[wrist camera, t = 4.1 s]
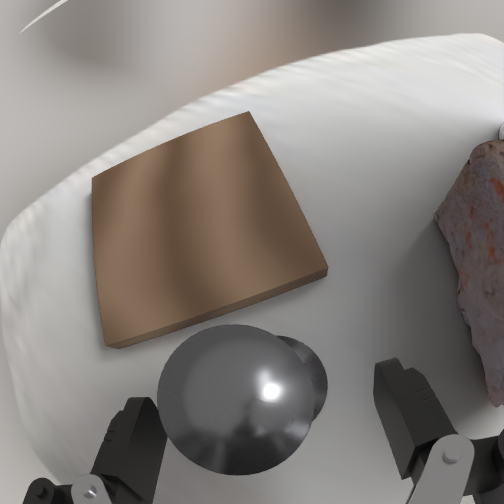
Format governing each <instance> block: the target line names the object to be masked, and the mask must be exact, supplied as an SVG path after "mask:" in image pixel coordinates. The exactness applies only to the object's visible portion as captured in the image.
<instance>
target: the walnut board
mask: <svg viewBox="0 0 504 504" xmlns="http://www.w3.org/2000/svg"><path fill="white" fill-rule="evenodd" d="M92 230H93V248H94V262H95V273H96V283H97V292H98V300H99V308H100V315H101V322H102V328H103V334H104V340H105V345H106V346H109V347H113V348H117V349H119V348H123V347H126V346H129V345H132V344H136V343H139V342H142V341H145V340H149V339H152V338H155V337H158V336H161V335H164V334H167V333H170V332H173V331H176V330H180V329H183V328H186V327H189V326H192V325H194V324H197V323H200V322H203V321H206V320H209V319H212V318H215V317H218V316H221V315H224V314H226V313H229V312H232V311H235V310H238V309H240V308H243V307H246V306H249V305H251V304H254V303H257V302H260V301H262V300H265V299H268V298H270V297H273V296H276V295H279V294H281V293H284V292H286V291H289V290H292V289H294V288H297V287H299V286H302V285H305V284H307V283H310V282H312V281H315V280H317V279H320V278H322V277H325V276H327V271H328V265H327V263H326V261H325V259H324V256H323V254H322V252H321V250H320V248H319V246H318V244H317V241H316V239H315V237H314V235H313V233H312V231H311V229H310V227H309V225H308V223H307V221H306V218H305V216H304V214H303V212H302V210H301V208H300V206H299V204H298V202H297V200H296V198H295V196H294V194H293V192H292V190H291V188H290V186H289V184H288V182H287V181H286V179H285V177H284V175H283V173H282V171H281V169H280V167H279V165H278V163H277V161H276V159H275V158H274V156H273V154H272V152H271V150H270V148H269V146H268V144H267V143H266V141H265V139H264V137H263V135H262V133H261V132H260V130H259V128H258V126H257V124H256V123H255V121H254V119H253V117H252V115H251V114H250V112H249V111H248V112H245V113H242V114H239V115H236V116H233V117H230V118H227V119H224V120H221V121H219V122H216V123H213V124H210V125H208V126H205V127H202V128H200V129H197V130H195V131H192V132H190V133H187V134H185V135H182V136H180V137H177V138H175V139H172V140H170V141H168V142H165V143H163V144H161V145H158V146H156V147H154V148H152V149H149V150H147V151H145V152H143V153H141V154H139V155H136V156H134V157H132V158H130V159H128V160H126V161H124V162H122V163H120V164H118V165H116V166H114V167H112V168H110V169H108V170H106V171H104V172H102V173H100V174H98V175H96V176H94V177H92Z"/></svg>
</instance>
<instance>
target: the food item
mask: <svg viewBox="0 0 504 504" xmlns="http://www.w3.org/2000/svg"><path fill="white" fill-rule="evenodd" d="M434 219H435V221H436V222H437V224H438V226H439V228H440V230H441V232H442V233H443V235H444V236H445V238H446V240H447V241H448V243H449V246H450V252H451V255H452V258H453V261H454V264H455V267H456V269H457V272H458V274H459V283H458V289H457V294H456V297H457V305H458V308H459V310H460V311H461V313H462V315H463V318H464V321H465V323H466V324H467V325H469V326H470V327H471V333H472V345H473V346H474V348H475V349H476V350H477V352H478V353H479V354H480V356H481V359H482V364H483V366H484V370H485V375H486V377H485V382H486V384H487V390H488V393H489V394H488V396H487V397H489V398H490V399H491V400H492V403H493V405H494V406H495V407H499V406H500V405H504V139H502V140H492V141H488V142H485V143H483V144H480V145H478V146H477V147H476V148H474V150H473V151H472V153H471V155H470V159H469V160H468V162H467V163H466V164H465V166H464V168H463V169H462V171H461V173H460V174H459V176H458V178H457V180H456V182H455V183H454V185H453V187H452V188H451V190H450V191H449V193H448V194H447V196H446V198H445V200H444V202H443V203H442V204H441V206H440V207H439V208H438V210H437V211H436V212H435V214H434Z"/></svg>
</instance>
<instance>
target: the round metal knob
mask: <svg viewBox="0 0 504 504" xmlns="http://www.w3.org/2000/svg"><path fill="white" fill-rule="evenodd" d="M326 395H327V376H326V372H325V369H324V367H323V365H322V362H321V361H320V359H319V358H318V356H317V355H316V354H315V353H314V352H313V351H312V350H311V349H310V348H309V347H308V346H306V345H305V344H303V343H301V342H299V341H297V340H295V339H292V338H289V337H284V336H275V335H273V334H271V333H269V332H267V331H264V330H262V329H259V328H256V327H251V326H247V325H238V324H234V325H221V326H215V327H212V328H208V329H205V330H203V331H201V332H198V333H197V334H195V335H193V336H191V337H190V338H188V339H187V340H186V341H184V342H183V343H182V344H181V345H180V346H179V347H178V348H177V349H176V350H175V351H174V352H173V354H172V355H171V356H170V358H169V359H168V361H167V363H166V364H165V366H164V369H163V371H162V373H161V377H160V380H159V385H158V391H157V403H158V411H159V415H160V419H161V422H162V425H163V427H164V430H165V432H166V433H167V435H168V437H169V439H170V440H171V441H172V443H173V444H174V446H175V447H176V448H177V449H178V450H179V451H180V452H181V453H182V454H183V455H184V456H186V457H187V458H188V459H189V460H191V461H192V462H194V463H195V464H197V465H199V466H201V467H203V468H205V469H207V470H210V471H213V472H216V473H221V474H226V475H250V474H256V473H260V472H263V471H266V470H268V469H271V468H273V467H275V466H277V465H278V464H280V463H282V462H283V461H285V460H286V459H287V458H288V457H289V456H291V455H292V454H293V453H294V452H295V451H296V449H297V448H298V447H299V446H300V445H301V443H302V442H303V440H304V439H305V437H306V435H307V433H308V431H309V428H310V426H311V422H312V421H313V420H314V419H315V418H316V417H317V415H318V414H319V413H320V411H321V409H322V407H323V405H324V402H325V399H326Z"/></svg>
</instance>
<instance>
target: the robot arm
mask: <svg viewBox="0 0 504 504" xmlns="http://www.w3.org/2000/svg"><path fill="white" fill-rule="evenodd" d="M499 139H500V140H502V139H504V122H503V124H502V126H501V128H500V130H499ZM373 395H374V402H375V406H376V409H377V411H378V414H379V417H380V419H381V422H382V425H383V427H384V430H385V433H386V436H387V438H388V441H389V444H390V447H391V450H392V452H393V455H394V458H395V461H396V464H397V467H398V470H399V473H400V476H401V479H402V480H403V479H406V478H408V477H411V478H412V481H413V484H414V486H413V488H412V490H411V492H410V494H409V497H408V499H407V501H406V503H405V504H460V502H461V499H462V496H467V495H473V498H474V501H475V504H504V429H503V431H502V432H501V433H500V435H499V436H494V437H489V438H484V439H478V440H471V439H468V438H466V437H465V436H462V435H459V434H458V433H457V432H456V431H455V429H454V428H453V426H452V424H451V422H450V420H449V418H448V417H447V415H446V413H445V411H444V409H443V407H442V406H441V404H440V402H439V400H438V399H437V398H436V396H435V393H434V392H433V390H432V389H431V388H430V385H429V383H428V381H427V380H426V378H425V376H424V375H423V374H421V373H420V372H419V371H417V370H416V369H414V368H410V369H407V370H404V369H403V367H402V365H401V363H400V362H399V360H398V359H397V358H392V359H389V360H386V361H382V362H379V363H376V364H375V371H374V389H373ZM167 437H168V435H167V433H166V432H165V430H164V427H163V425H162V422H161V419H160V415H159V411H158V409H157V407H156V406H155V404H154V403H153V401H152V400H151V398H149V397H131V398H129V399H128V400H127V403H126V405H125V408H124V410H123V411H119V412H118V413H117V414H116V415H115V417H114V418H113V419H112V420H111V422H110V425H109V427H108V430H107V433H106V435H105V437H104V441H103V442H102V445H101V447H100V450H99V452H98V455H97V457H96V460H95V462H94V465H93V468H92V470H91V472H90V474H86V475H83V476H81V477H79V478H78V479H76V480H75V482H74V483H73V484H71V485H58V486H56V485H54V484H53V483H52V482H51V481H50V480H48V479H46V478H38V479H36V480H34V481H33V482H32V483H31V484H30V486H29V488H28V491H27V493H26V496H25V499H24V501H23V504H152V503H153V498H154V494H155V489H156V485H157V480H158V476H159V471H160V467H161V463H162V458H163V454H164V450H165V446H166V441H167Z"/></svg>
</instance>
